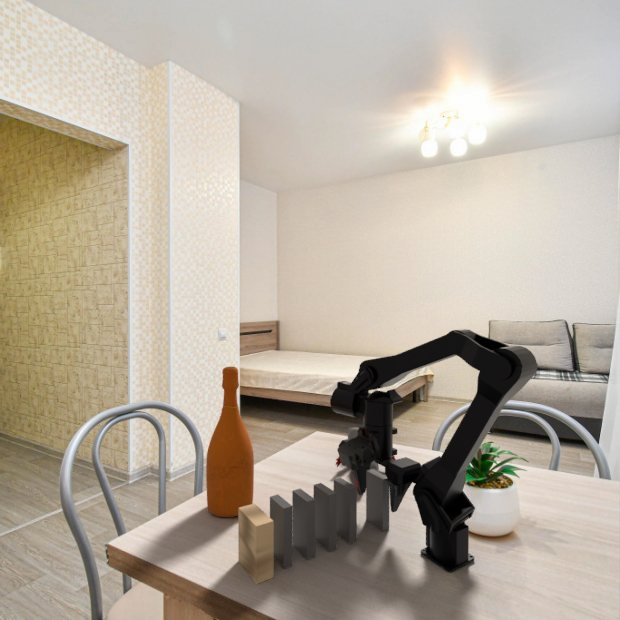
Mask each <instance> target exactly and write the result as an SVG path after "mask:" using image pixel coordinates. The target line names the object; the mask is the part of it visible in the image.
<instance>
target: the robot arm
mask: <svg viewBox="0 0 620 620" xmlns="http://www.w3.org/2000/svg"><path fill="white" fill-rule="evenodd" d="M454 357H459V358H461V360H463V361H464V362H465V363H466V364H467V365H469V366H470V367H472V368H473V369H475V370H477V371H479V373H478V376H477V381H476V382H477V386H476V388H477V389H476V394H475V396H474V397H473V399H472V400H471V402H470V404H469V406H468V408H467V410H466V411H465V414H464V415H463V417H462V418H461V421H460V422H459V424H458V426H457V428H456V429H455V432H454V433H453V435H452V437H451V439H449V442H448V444H447V446H446V447H445V449H444V451H443V452H442V455H441V456H440V455H438V456H437V457H435V458H432V459H431V460H429V461H426V462H425V463H423V464H421V463H420V462H418V461H416V460H414V459H411V458H408V457H406V456H405V457H401V458H399V459H398V458H397V459H396V460H394V459H392V456H397V455H398V449H397V448H396V447H393V445H394V440H393V439H394V437H393V436H394V435H397V434H398V428H396V427H394V405H395V404H398V403H402V402H403V401H404V398H403V397H402V396H401V395H400V394H398V392H397V390H396V389H395V388H393V389H389V390H387V391H383V390H379V389H382V388H386V387H392V386H394V385H395V384H397V383H398V382H400V381H402V380H403V379H405V378H406V377H407V376H408V375H410V374H411V373H412V372H416V371H417V370H420V369H423V368H426V367H428V366H431V365H434V364H437V363H440V362H442V361H445V360H448V359H450V358H454ZM537 370H538V362H537V359H536V356H535V355H534V353H533V352H532V351H531V350H529V349H528V348H527V347H526V346H525V347H524V346H522V345H515V344H514V345H509V344H507V343H504V342H501V341H499V340H495V339H492V338H490V337H486V336H483V335H480V334H478V333H476V332H474V331H473V330H471V329H467V328H464V329H462V328H461V329H454V330H451V331H449V332H448V333H447V334H444V335H442V336H438V337H437V338H434V339H432V340H430V341H427V342H425V343H422V344H420V345H418V346H414V347H412V348H410V349H407V350H405V351H403V352H399V353H398V354H394V355H389V356H382V357H378V358H371V359H366V360H363V361H362V362H361V363H360V364H359V367H358V372H357V374H356V375H355V377H354V378H353V380H352V381H351V382H349V381H346V380H341V381H337V383H336V385H337V386H336V388H335V389H334V390H333V391H332V394H331V397H330V399H329V403H330V404H329V405H330V408H331V410H332V411H333V412H334V413H336V414H340V415H343V416H348V417H352V418H357V419H360V418H362V417H363V420H362V421H363V425H362V426H361V425H360V426H359V429H358V434H357V437H355V438H351V439H348V438H347V439H342V440H341V441H340V443H339V444H338V447H337V450H336V451H337V452H338V453H337V454H338V457H340V460H341V465H342V466H345V467H347V468H349V469H350V470H351V471H353V474H354V479H355V478H356V481H357V484H358V488H359V491H360V493H363V494H364V493H365V494H366V471H367V470H370V466H371V463H372V462H376V463H378V465H380V466H382V467H384V475H385V476H387V479H384V480H385V481H386V483H387V484H388V485H389V507H390V511H391V512H392V513H396V512H397V511H398V509H399V507H400V506H401V503H402V501H403V499H404V497H405V495H406V493H407V492H408V490H409V488H410V487H411V486H412V484H414V486H413V489H412V495H413V496H414V501H415V502H416V506H417V509H418V513H419V517H420V519H421V522H422V523H421V524H422V525H423V526H425V546H426V547H424V548H421V549H420V554H421V555H422V556H424V557H426V558H428V559H429V560H430V561H431V562H433V563H435V564H436V565H438V566H439V567H440V568H442V569H444V570H445V571H447V572H451V573H452V572H454V571H456V570H457V569H458V570H459V568H462V567H464V566H466V565H468V564H470V563H471V562H474V561H475V556H474V555H473V554H471V553H469V545H470V544H469V537H470V536H469V534H470V532H469V530H470V528H469V527H470V526H469V525H468V524H466V521H467V520H469V519H471V518H472V517H473V514H474V513H475V510H476V507H475V505H474V504H473V503H472V501H471V500H470V499H469V497H468V496H467V495H466V493H465V492H464V488H465V486H466V481H467V480H466V478H467V477H466V476H467V475H466V474H467V469H468V467H469V466H470V464H471V462H472V461H473V459H474V457H475V456H476V454H477V452H478V450H479V449H480V447H481V445H482V444H483V442H484V441H485V439H486V437H487V435H488V433H489V432H490V430H491V429H492V427H493V425H494V423H495V422H496V420H497V418H498V417H499V415H500V413H501V411H502V410H503V409H504V407H505V405H506V404H507V403H508V402H509V401H511V399H513V398H514V396H515V395H517V394H518V393H519V392H520V391H521V390H522V389H523V388H524V387H525V386H526V385H527V384H528V383H529V381H531V379H533V377H534V376H535V375H536V373H537ZM369 391H372V392H369Z"/></svg>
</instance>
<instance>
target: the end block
mask: <svg viewBox="0 0 620 620" xmlns="http://www.w3.org/2000/svg"><path fill="white" fill-rule="evenodd" d="M237 518H238V522H237V523H238V524H237V526H238V527H237V528H238V535H237V536H238V546H237V547H238V549H237V550H238V555H237V556H238V562H239V564H240V565H241V566H242V567H243V569H244V570H245V571H246V572H247V574H248V575H249V577H250V578H251V579H252V580H253V582H254V583H255V585H257V584H260V583H264V582H265V581H267V580H271V579H273V578H274V574H275V573H274V566H275V565H274V564H275V563H274V560H275V559H274V521H273V520H272V519H271V518H270V515H268V514H267V513H265V512H264V510H262V508H261V507H259V506H258V505H257V504H256V503H255V502H254V503H252V504H251V505H247V506H243V507H240V508H238V516H237Z"/></svg>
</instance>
